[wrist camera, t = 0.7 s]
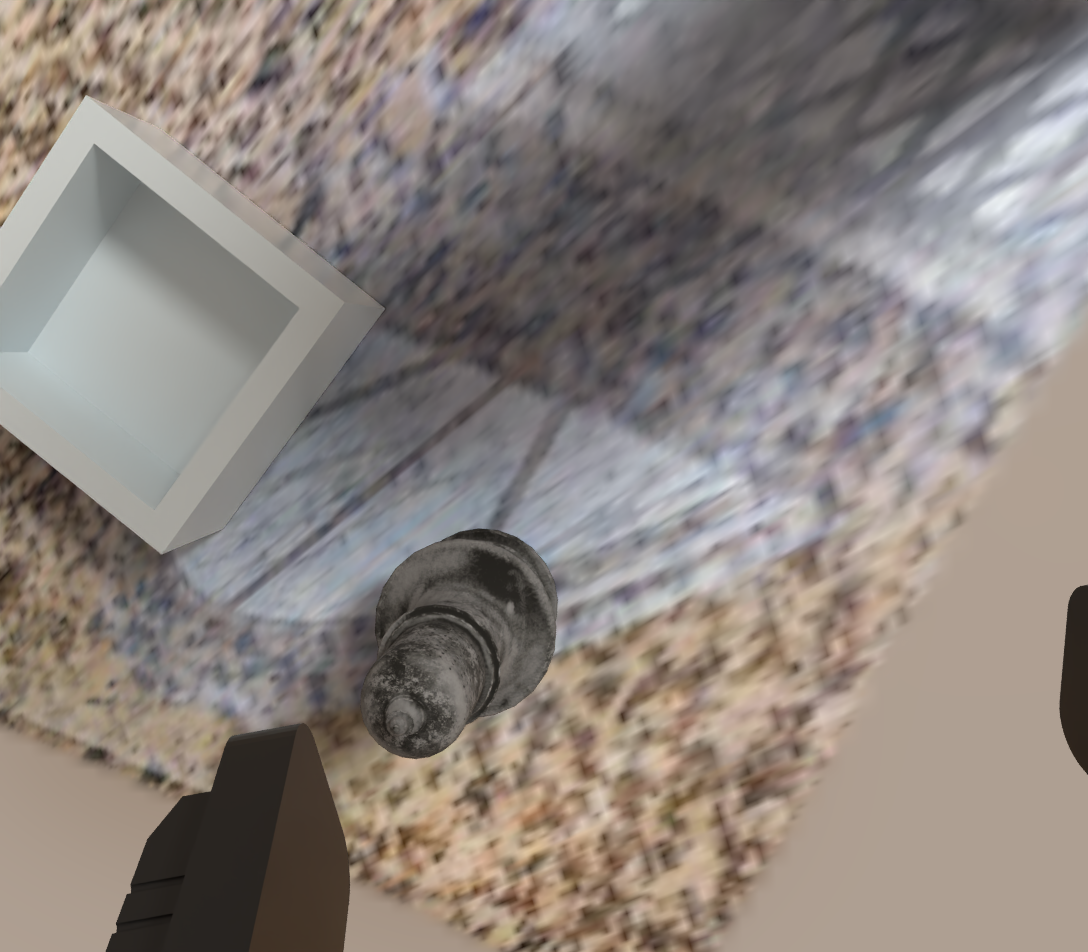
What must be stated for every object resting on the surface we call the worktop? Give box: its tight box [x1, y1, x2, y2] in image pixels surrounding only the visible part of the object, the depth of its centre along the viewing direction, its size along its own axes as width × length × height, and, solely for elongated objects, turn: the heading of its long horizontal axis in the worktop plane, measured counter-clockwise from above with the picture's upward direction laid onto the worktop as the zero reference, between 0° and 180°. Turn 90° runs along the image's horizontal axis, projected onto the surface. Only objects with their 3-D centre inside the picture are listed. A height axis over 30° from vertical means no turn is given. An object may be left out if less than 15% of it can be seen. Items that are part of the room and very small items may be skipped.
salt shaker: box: [360, 529, 558, 759], centre depth 29 cm, size 6×6×12 cm
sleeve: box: [0, 95, 385, 554], centre depth 33 cm, size 10×10×4 cm
